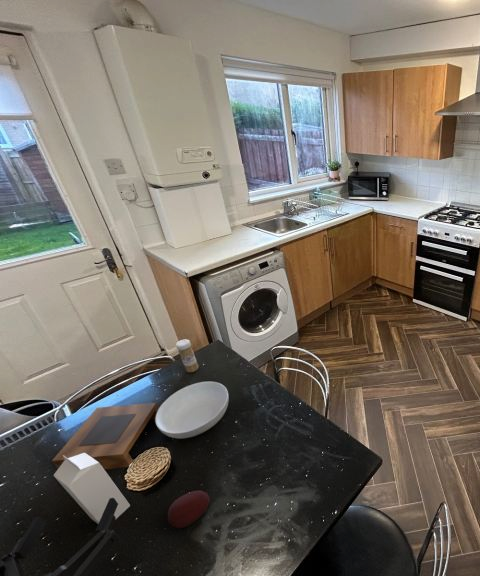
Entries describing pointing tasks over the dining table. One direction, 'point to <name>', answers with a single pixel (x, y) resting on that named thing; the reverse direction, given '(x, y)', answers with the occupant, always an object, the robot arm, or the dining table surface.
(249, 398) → the dining table surface
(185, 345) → the sprinkles bottle
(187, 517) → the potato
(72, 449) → the wooden serving tray
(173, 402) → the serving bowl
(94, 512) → the milk
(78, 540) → the dining table surface
